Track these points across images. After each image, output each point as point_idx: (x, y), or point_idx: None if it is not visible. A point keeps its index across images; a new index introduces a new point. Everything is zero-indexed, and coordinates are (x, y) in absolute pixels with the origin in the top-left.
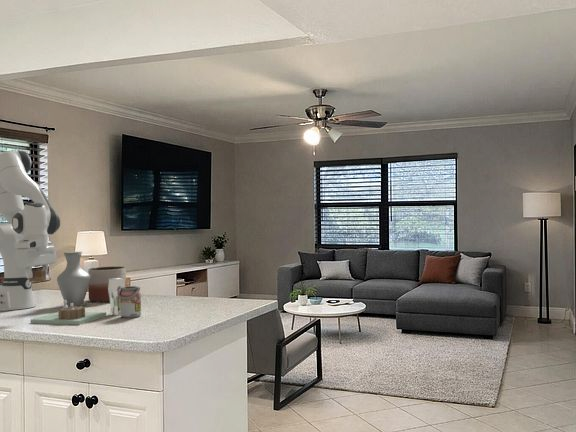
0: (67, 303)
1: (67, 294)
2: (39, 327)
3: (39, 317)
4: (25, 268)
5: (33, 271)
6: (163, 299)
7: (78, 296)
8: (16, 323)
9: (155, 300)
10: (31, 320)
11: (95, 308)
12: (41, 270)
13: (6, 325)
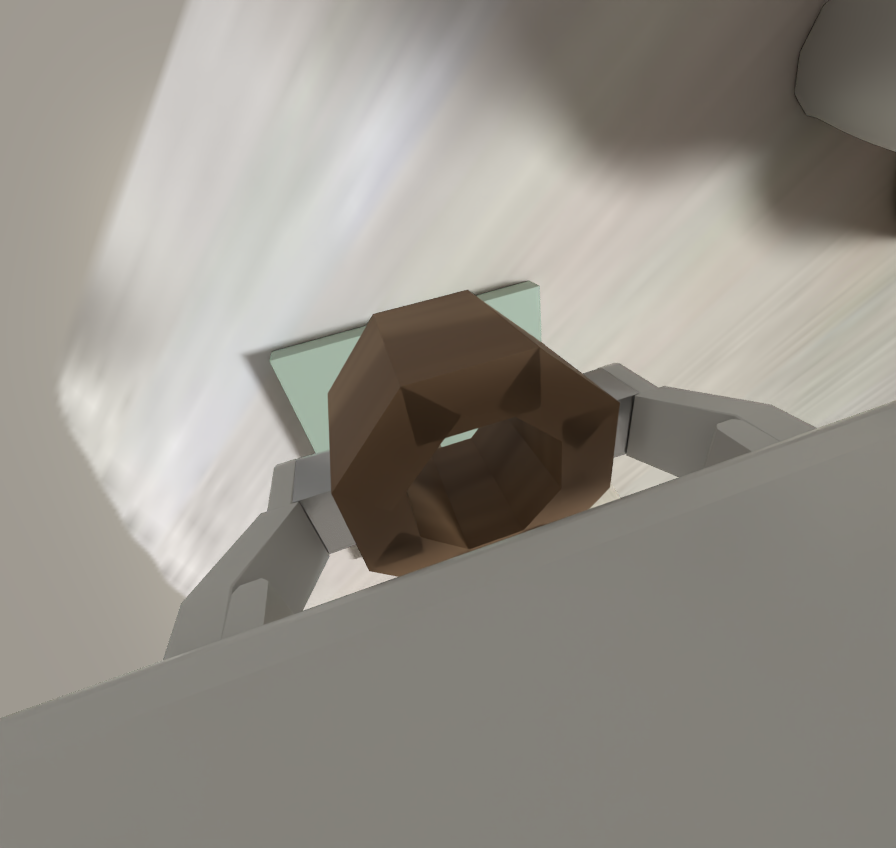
0: (826, 31)
1: (880, 52)
2: (239, 484)
3: (340, 352)
4: (175, 637)
5: (405, 510)
6: (876, 390)
7: (861, 135)
8: (206, 262)
9: (863, 381)
10: (272, 364)
11: (716, 296)
12: (570, 480)
13: (115, 260)
